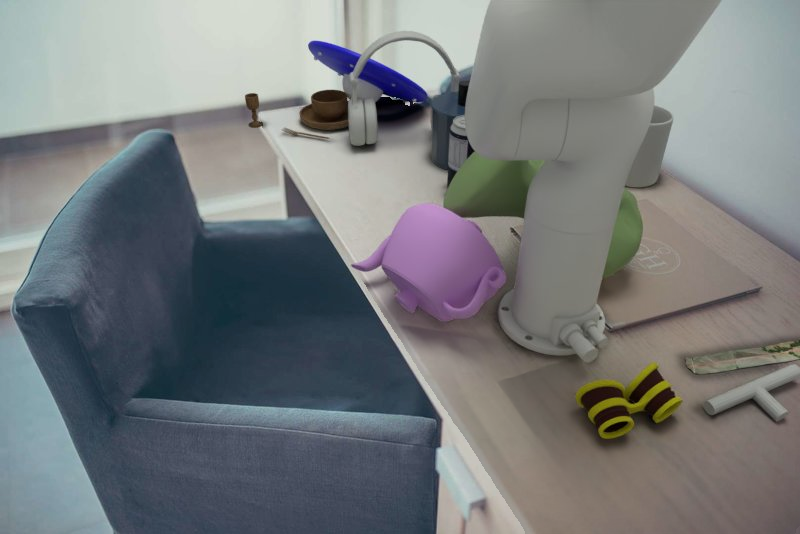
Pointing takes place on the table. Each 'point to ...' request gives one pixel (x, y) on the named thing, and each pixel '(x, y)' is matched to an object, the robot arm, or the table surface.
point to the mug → (651, 150)
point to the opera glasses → (613, 409)
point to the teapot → (438, 263)
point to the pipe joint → (756, 393)
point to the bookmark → (744, 358)
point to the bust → (507, 193)
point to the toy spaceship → (366, 74)
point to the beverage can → (458, 147)
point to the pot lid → (451, 102)
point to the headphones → (365, 110)
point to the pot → (440, 139)
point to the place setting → (313, 111)
